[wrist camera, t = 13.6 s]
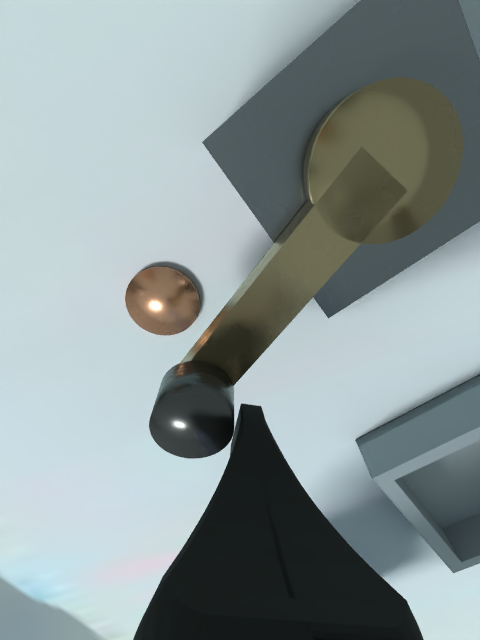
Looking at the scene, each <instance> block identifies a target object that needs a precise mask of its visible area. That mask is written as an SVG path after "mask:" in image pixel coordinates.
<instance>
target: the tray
mask: <svg viewBox="0 0 480 640" xmlns="http://www.w3.org/2000/svg"><path fill="white" fill-rule="evenodd" d="M356 442H357V445H358V447H359V449H360V452H361V454H362V456H363V458H364V461H365V463H366V465H367V468H368V470H369V472H370V475H371V477H372V479H373V480H374V481H375V482H376V484H377V485H378V486H379V487H380V488H381V489H382V491H383V492H384V493H385V494H386V495H387V496H388V498H389V499H390V500H391V501H392V502H393V503H394V505H395V506H396V507H397V508H398V509H399V510H400V512H401V513H402V514H403V515H404V516H405V517H406V518H407V520H408V521H409V522H410V523H411V524H412V525H413V527H414V528H415V529H416V530H417V531H418V532H419V534H420V535H421V536H422V537H423V538H424V539H425V541H426V542H427V543H428V544H429V545H430V546H431V548H432V549H433V550H434V551H435V552H436V553H437V555H438V556H439V557H440V558H441V559H442V560H443V562H444V563H445V564H446V565H447V566H448V567H449V569H450V570H451V571H452V572H453V573H455V572H458V571H461V570H463V569H466V568H468V567H471V566H474V565H476V564H479V563H480V375H479V376H477V377H475V378H473V379H471V380H469V381H467V382H465V383H463V384H461V385H460V386H458V387H456V388H454V389H452V390H450V391H448V392H446V393H444V394H442V395H440V396H439V397H437V398H435V399H433V400H431V401H429V402H427V403H425V404H423V405H421V406H419V407H417V408H416V409H414V410H412V411H410V412H408V413H406V414H404V415H402V416H400V417H398V418H396V419H395V420H393V421H391V422H389V423H387V424H385V425H383V426H381V427H379V428H377V429H375V430H374V431H372V432H370V433H368V434H366V435H364V436H362V437H360V438H358V439H356Z"/></svg>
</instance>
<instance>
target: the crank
mask: <svg viewBox="0 0 480 640" xmlns="http://www.w3.org/2000/svg"><path fill="white" fill-rule="evenodd" d="M462 155H463V135H462V129H461V124H460V121H459V118H458V115H457V113H456V111H455V109H454V107H453V105H452V104H451V103H450V101H449V100H448V99H447V97H446V96H445V95H443V94H442V93H441V92H440V91H439V90H438V89H436V88H435V87H433V86H432V85H430V84H428V83H426V82H423V81H421V80H417V79H413V78H403V77H398V78H389V79H384V80H380V81H377V82H375V83H372V84H370V85H367V86H365V87H363V88H362V89H360V90H358V91H356V92H354V93H352V94H351V95H349V96H347V97H345V98H344V99H342V100H341V101H340V102H338V103H337V104H336V105H335V106H334V107H333V108H332V109H331V110H330V111H328V113H327V114H326V115H325V116H324V117H323V119H322V120H321V121H320V123H319V124H318V126H317V127H316V129H315V131H314V133H313V135H312V137H311V139H310V141H309V144H308V147H307V150H306V154H305V158H304V165H303V183H304V190H305V194H306V197H307V200H308V201H307V202H306V203H305V205H304V206H303V207H302V208H301V210H300V211H299V212H298V213H297V215H296V216H295V217H294V219H293V220H292V221H291V222H290V224H289V225H288V226H287V227H286V229H285V230H284V231H283V233H282V234H281V235H280V236H279V238H278V239H277V240H276V241H275V243H274V244H273V245H272V247H271V248H270V249H269V250H268V252H267V253H266V254H265V256H264V257H263V258H262V259H261V261H260V262H259V263H258V264H257V266H256V267H255V268H254V270H253V271H252V272H251V273H250V275H249V276H248V277H247V278H246V280H245V281H244V282H243V284H242V285H241V286H240V287H239V289H238V290H237V291H236V292H235V294H234V295H233V296H232V298H231V299H230V300H229V301H228V303H227V304H226V305H225V306H224V308H223V309H222V310H221V312H220V313H219V314H218V315H217V317H216V318H215V319H214V321H213V322H212V323H211V324H210V326H209V327H208V328H207V329H206V331H205V332H204V333H203V335H202V336H201V337H200V338H199V340H198V341H197V342H196V343H195V345H194V346H193V347H192V349H191V350H190V351H189V352H188V354H187V355H186V356H185V357H184V359H183V360H182V361H181V363H180V364H178V365H176V366H174V367H172V368H171V369H170V370H169V371H168V372H167V373H166V374H165V376H164V377H163V380H162V382H161V386H160V389H159V392H158V395H157V398H156V401H155V405H154V408H153V411H152V414H151V417H150V422H149V428H150V432H151V435H152V437H153V439H154V440H155V442H156V443H157V444H158V445H159V446H160V447H161V448H162V449H164V450H165V451H167V452H169V453H171V454H173V455H176V456H179V457H184V458H203V457H208V456H211V455H213V454H216V453H218V452H219V451H221V450H222V449H224V448H225V447H226V446H227V445H228V443H229V442H230V440H231V439H232V436H233V433H234V387H233V386H234V385H235V384H236V382H237V381H238V380H239V379H240V378H241V377H242V376H243V375H244V374H245V372H246V371H247V370H248V369H249V368H250V367H251V366H252V365H253V363H254V362H255V361H256V360H257V359H258V358H259V357H260V356H261V355H262V353H263V352H264V351H265V350H266V349H267V348H268V347H269V346H270V344H271V343H272V342H273V341H274V340H275V339H276V338H277V337H278V335H279V334H280V333H281V332H282V331H283V330H284V329H285V328H286V327H287V325H288V324H289V323H290V322H291V321H292V320H293V319H294V318H295V316H296V315H297V314H298V313H299V312H300V311H301V310H302V309H303V308H304V306H305V305H306V304H307V303H308V302H309V301H310V300H311V299H312V297H313V296H314V295H315V294H316V293H317V292H318V291H319V290H320V289H321V287H322V286H323V285H324V284H325V283H326V282H327V281H328V280H329V278H330V277H331V276H332V275H333V274H334V273H335V272H336V271H337V270H338V268H339V267H340V266H341V265H342V264H343V263H344V262H345V261H346V259H347V258H348V257H349V256H350V255H351V254H352V253H353V252H354V251H355V249H356V248H357V247H358V246H359V245H360V244H361V243H362V244H383V243H388V242H392V241H395V240H398V239H401V238H403V237H405V236H407V235H409V234H411V233H413V232H414V231H416V230H418V229H419V228H420V227H422V226H423V225H424V224H425V223H427V222H428V221H429V220H430V219H431V218H432V217H433V216H434V215H435V214H436V213H437V211H438V210H439V209H440V208H441V207H442V205H443V204H444V202H445V201H446V200H447V198H448V196H449V194H450V193H451V191H452V189H453V187H454V184H455V182H456V180H457V177H458V174H459V171H460V167H461V162H462Z"/></svg>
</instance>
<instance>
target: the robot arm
mask: <svg viewBox="0 0 480 640" xmlns="http://www.w3.org/2000/svg"><path fill="white" fill-rule="evenodd" d="M133 640H424V639H423V637H422V634H421V632H420V629H419V627H418V624H417V622H416V620H415V618H414V616H413V614H412V612H411V610H410V607H409V605H408V603H407V601H406V600H405V599H404V598H403V597H402V596H401V595H400V594H399V593H398V592H397V591H396V590H395V589H394V588H392V587H391V586H390V585H389V584H388V583H387V582H386V581H385V580H384V579H383V578H382V577H381V576H379V575H378V574H377V573H376V572H375V571H374V570H373V569H372V568H371V567H370V566H369V565H368V564H367V563H366V562H365V561H364V560H363V559H362V558H361V557H360V556H359V555H358V554H357V553H356V552H355V551H354V550H353V549H352V547H351V546H350V545H349V544H348V543H347V542H346V541H345V540H344V539H343V537H342V536H341V535H340V534H339V533H338V532H337V530H336V529H335V528H334V527H333V526H332V525H331V524H330V522H329V521H328V520H327V519H326V518H325V516H324V515H323V514H322V513H321V511H320V510H319V509H318V507H317V506H316V505H315V504H314V502H313V501H312V499H311V498H310V497H309V495H308V494H307V493H306V491H305V490H304V488H303V487H302V485H301V484H300V482H299V481H298V479H297V478H296V476H295V474H294V473H293V471H292V470H291V468H290V466H289V465H288V463H287V461H286V460H285V458H284V456H283V454H282V452H281V451H280V449H279V447H278V445H277V443H276V441H275V439H274V438H273V436H272V434H271V431H270V429H269V427H268V425H267V423H266V421H265V418H264V414H263V411H262V408H261V406H255V405H248V404H241V406H240V410H239V414H238V418H237V423H236V427H235V431H234V435H233V439H232V443H231V453H230V459H229V461H228V464H227V466H226V469H225V471H224V474H223V476H222V478H221V480H220V482H219V485H218V487H217V489H216V491H215V493H214V495H213V497H212V499H211V500H210V502H209V504H208V506H207V508H206V510H205V512H204V514H203V515H202V517H201V519H200V521H199V522H198V524H197V525H196V527H195V529H194V530H193V532H192V534H191V535H190V537H189V539H188V540H187V542H186V543H185V545H184V547H183V548H182V550H181V551H180V553H179V554H178V555H177V557H176V558H175V560H174V561H173V563H172V564H171V566H170V567H169V569H168V570H167V571H166V573H165V574H164V576H163V577H162V580H161V582H160V584H159V586H158V588H157V590H156V592H155V594H154V596H153V598H152V600H151V602H150V604H149V606H148V608H147V610H146V612H145V614H144V616H143V618H142V620H141V622H140V624H139V627H138V629H137V631H136V634H135V636H134V639H133Z"/></svg>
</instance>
